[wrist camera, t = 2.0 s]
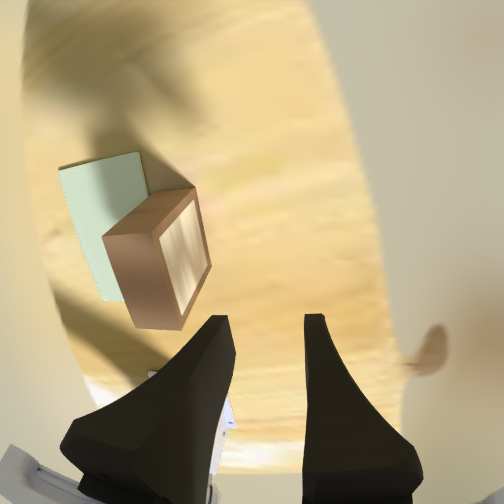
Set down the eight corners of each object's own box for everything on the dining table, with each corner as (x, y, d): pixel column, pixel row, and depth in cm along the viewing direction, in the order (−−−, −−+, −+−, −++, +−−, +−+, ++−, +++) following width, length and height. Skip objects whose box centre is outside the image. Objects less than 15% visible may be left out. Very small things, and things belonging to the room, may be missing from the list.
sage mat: (177, 300, 25) (176, 302, 25) (103, 298, 27) (102, 300, 27) (139, 151, 20) (137, 152, 20) (60, 170, 21) (58, 171, 21)
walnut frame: (212, 266, 23) (181, 330, 17) (174, 267, 24) (135, 328, 18) (195, 186, 21) (151, 232, 15) (154, 191, 21) (101, 236, 15)
